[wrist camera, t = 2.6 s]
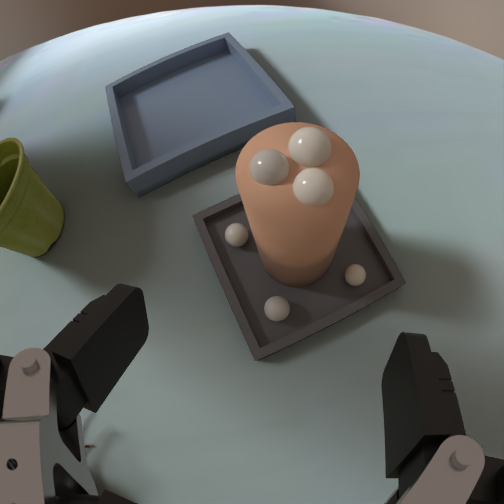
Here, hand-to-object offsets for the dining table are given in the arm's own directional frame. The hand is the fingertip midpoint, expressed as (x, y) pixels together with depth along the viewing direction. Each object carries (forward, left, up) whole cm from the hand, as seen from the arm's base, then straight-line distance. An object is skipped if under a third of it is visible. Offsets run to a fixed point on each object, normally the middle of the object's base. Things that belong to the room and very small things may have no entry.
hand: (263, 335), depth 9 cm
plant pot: (-16, +18, -12) cm, 27 cm away
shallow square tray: (+2, +23, -12) cm, 26 cm away
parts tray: (+4, +5, -12) cm, 13 cm away
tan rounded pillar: (+4, +5, -11) cm, 13 cm away
